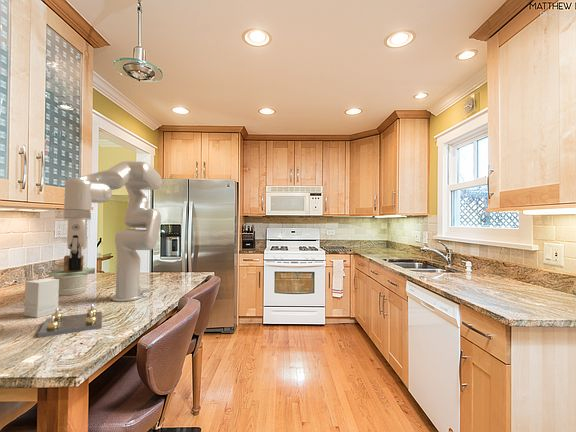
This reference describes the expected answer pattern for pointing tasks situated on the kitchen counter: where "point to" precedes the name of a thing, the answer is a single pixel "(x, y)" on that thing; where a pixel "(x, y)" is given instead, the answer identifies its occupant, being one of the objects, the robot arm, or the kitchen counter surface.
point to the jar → (71, 282)
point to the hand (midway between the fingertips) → (75, 268)
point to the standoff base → (71, 323)
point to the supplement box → (41, 297)
